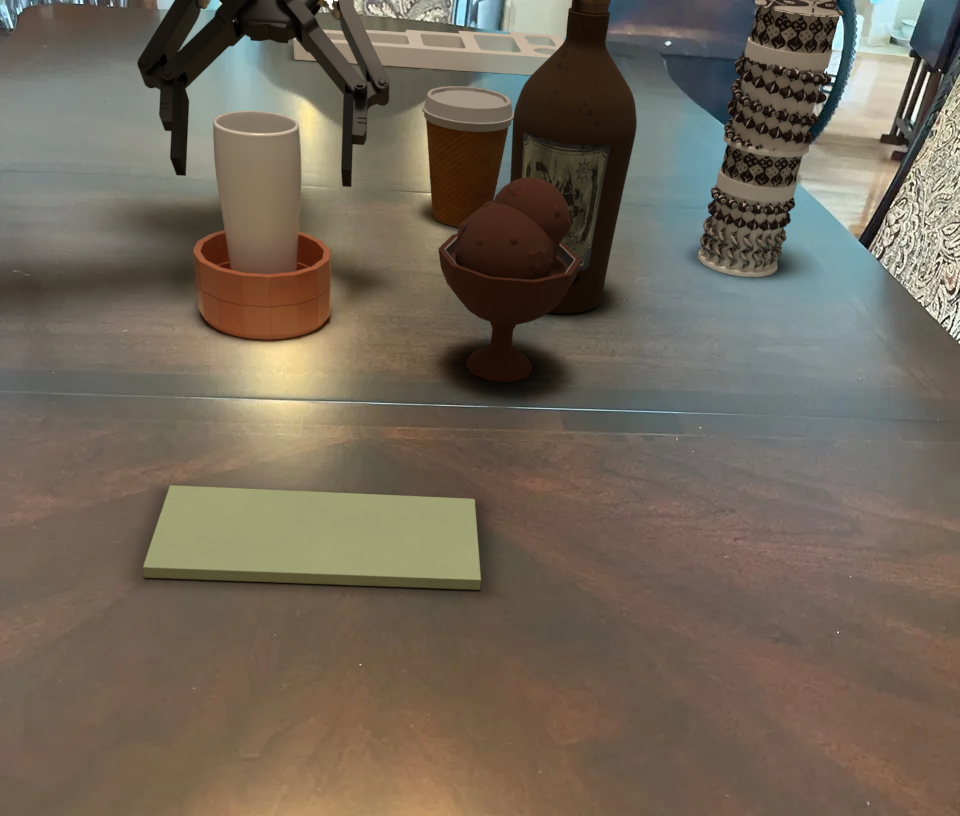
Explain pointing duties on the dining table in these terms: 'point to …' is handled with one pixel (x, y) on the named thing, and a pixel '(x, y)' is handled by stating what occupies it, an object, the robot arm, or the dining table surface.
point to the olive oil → (579, 142)
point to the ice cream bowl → (511, 268)
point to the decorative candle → (768, 134)
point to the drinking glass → (259, 189)
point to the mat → (315, 538)
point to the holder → (452, 50)
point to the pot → (263, 291)
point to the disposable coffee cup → (464, 148)
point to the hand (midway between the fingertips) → (262, 173)
